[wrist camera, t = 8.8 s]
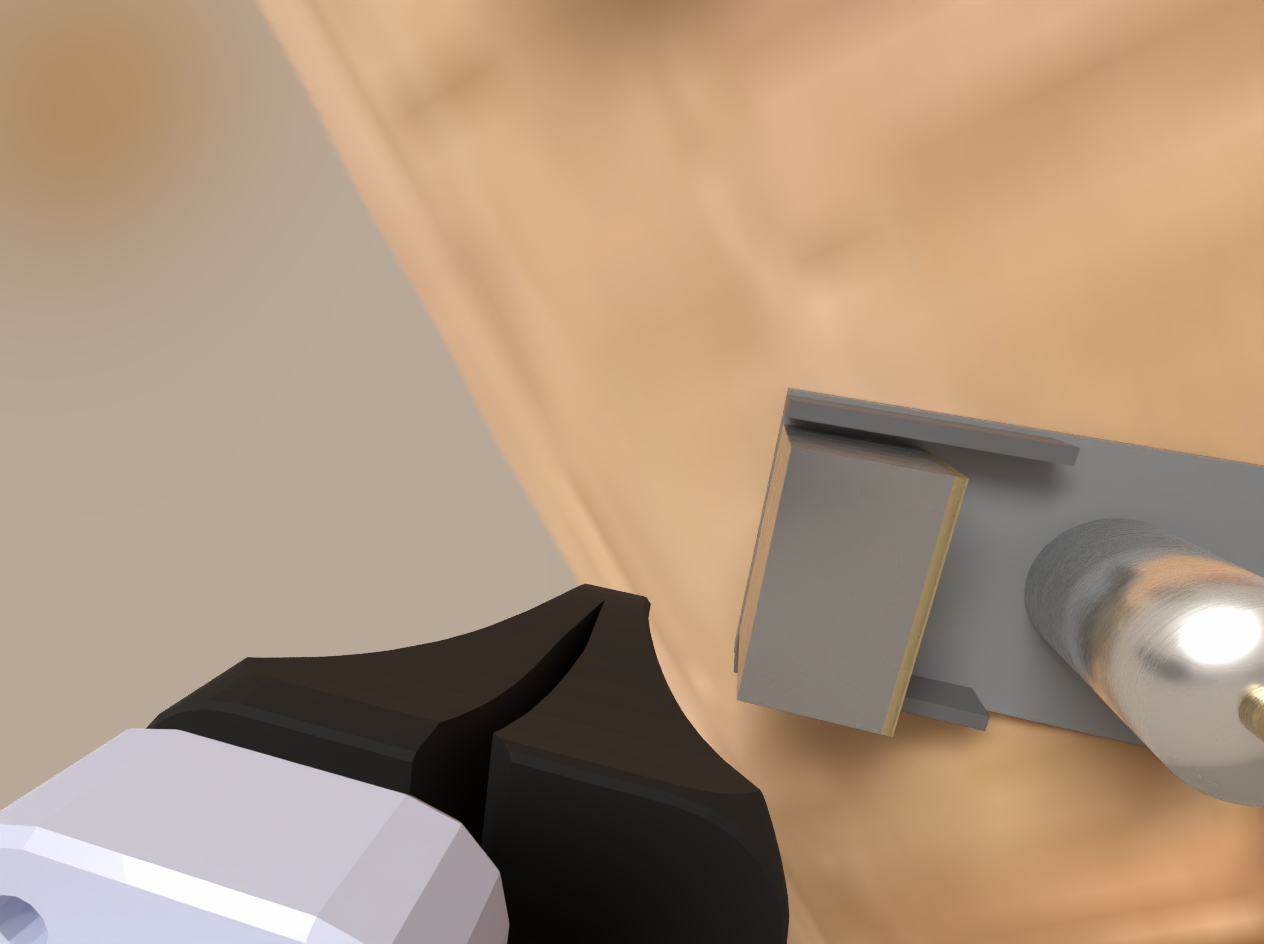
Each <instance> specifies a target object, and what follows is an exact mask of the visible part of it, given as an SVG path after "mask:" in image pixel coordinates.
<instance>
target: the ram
mask: <svg viewBox="0 0 1264 944" xmlns="http://www.w3.org/2000/svg"><path fill="white" fill-rule="evenodd" d="M968 480H969V479H968V478H967V477H965V476H964V475H963V474H961V473H960V472H958V471H957V470H955V469H954V468H952V467H951V466H949V465H948V464H946V463H945V462H943V461H942V460H940V459H939V458H937V457H936V456H934V455H933V454H932V453H930V452H929V451H927V450H926V449H924V448H923V447H917V446H911V445H906V444H900V443H894V442H888V441H882V440H876V439H871V438H865V437H859V436H853V435H847V434H842V433H836V432H830V431H824V430H818V429H813V428H807V427H801V426H795V425H789V424H784V423H783V427H782V432H781V436H780V441H779V446H778V451H777V455H776V460H775V465H774V470H773V474H772V479H771V484H770V489H769V493H768V498H767V503H766V508H765V512H764V517H763V522H762V527H761V531H760V536H759V541H758V545H757V550H756V555H755V560H754V564H753V569H752V574H751V579H750V583H749V588H748V593H747V598H746V602H745V607H744V612H743V617H742V621H741V626H740V633H739V658H738V683H737V700H740V701H744V702H748V703H752V704H756V705H761V706H765V707H769V708H773V709H777V710H781V711H785V712H790V713H794V714H798V715H802V716H806V717H810V718H815V719H819V720H823V721H827V722H831V723H835V724H840V725H844V726H848V727H852V728H856V729H860V730H864V731H869V732H873V733H877V734H881V735H885V736H889V737H893V735H894V732H895V728H896V725H897V722H898V718H899V715H900V711H901V708H902V705H903V701H904V698H905V694H906V691H907V688H908V684H909V681H910V677H911V674H912V671H913V667H914V664H915V660H916V657H917V654H918V650H919V647H920V643H921V640H922V637H923V633H924V630H925V626H926V623H927V620H928V616H929V613H930V609H931V606H932V603H933V599H934V596H935V592H936V589H937V586H938V582H939V579H940V575H941V572H942V569H943V565H944V562H945V558H946V555H947V552H948V548H949V545H950V541H951V538H952V535H953V531H954V528H955V524H956V521H957V518H958V514H959V511H960V507H961V504H962V501H963V497H964V494H965V490H966V487H967V484H968Z"/></svg>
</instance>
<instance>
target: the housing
mask: <svg viewBox="0 0 1264 944" xmlns="http://www.w3.org/2000/svg"><path fill="white" fill-rule="evenodd" d="M1024 599H1025V606H1026V610H1027V614H1028V616H1029V618H1030V620H1031V622H1032V624H1033V625H1034V627H1035V629H1036V630H1037V631H1038V632H1039V633H1040V635H1041V636H1042V637H1043V638H1044V639H1045V640H1046V641H1047V642H1048V643H1049V644H1050V645H1051V646H1052V647H1053V648H1054V649H1055V650H1056V651H1057V653H1058V654H1059V655H1060V656H1061V657H1062V658H1063V659H1064V660H1065V661H1066V662H1067V663H1068V664H1069V665H1070V666H1071V667H1072V668H1073V669H1074V670H1075V671H1076V672H1077V673H1078V675H1079V676H1080V677H1081V678H1082V679H1083V680H1084V681H1085V682H1086V683H1087V684H1088V685H1089V686H1090V687H1091V688H1092V689H1093V690H1094V691H1095V692H1096V693H1097V694H1098V695H1099V697H1100V698H1101V699H1102V700H1103V701H1104V702H1105V703H1106V704H1107V705H1108V706H1109V707H1110V708H1111V709H1112V710H1113V711H1114V712H1115V713H1116V714H1117V715H1118V716H1119V718H1120V719H1121V720H1122V721H1123V722H1124V723H1125V724H1126V725H1127V726H1128V727H1129V728H1130V729H1131V730H1132V731H1133V732H1134V733H1135V734H1136V735H1137V736H1138V737H1139V738H1140V740H1141V741H1142V742H1143V743H1144V744H1145V745H1146V746H1147V747H1148V748H1149V749H1150V750H1151V751H1152V752H1153V753H1154V754H1155V755H1156V756H1157V757H1158V758H1159V759H1160V760H1161V762H1162V763H1163V764H1164V765H1165V766H1166V767H1167V768H1168V769H1169V770H1170V771H1171V772H1172V773H1174V774H1175V775H1176V776H1177V777H1178V778H1179V779H1180V780H1182V781H1183V782H1185V783H1186V784H1188V785H1189V786H1191V787H1192V788H1194V789H1196V790H1198V791H1200V792H1202V793H1204V794H1206V795H1209V796H1212V797H1214V798H1217V799H1220V800H1224V801H1227V802H1231V803H1235V804H1242V805H1248V806H1261V807H1264V578H1263V577H1261V576H1259V575H1257V574H1254V573H1252V572H1250V571H1248V570H1246V569H1244V568H1242V567H1240V566H1238V565H1236V564H1234V563H1232V562H1230V561H1227V560H1225V559H1223V558H1221V557H1219V556H1217V555H1215V554H1213V553H1211V552H1209V551H1207V550H1205V549H1202V548H1200V547H1198V546H1196V545H1194V544H1192V543H1190V542H1188V541H1186V540H1184V539H1182V538H1180V537H1177V536H1175V535H1173V534H1171V533H1169V532H1167V531H1165V530H1163V529H1161V528H1159V527H1157V526H1155V525H1152V524H1149V523H1146V522H1143V521H1139V520H1134V519H1126V518H1107V519H1099V520H1094V521H1090V522H1086V523H1083V524H1080V525H1078V526H1075V527H1073V528H1071V529H1069V530H1067V531H1065V532H1063V533H1062V534H1060V535H1059V536H1057V537H1056V538H1054V539H1053V540H1052V541H1051V542H1050V543H1048V544H1047V545H1046V546H1045V547H1044V548H1043V550H1042V551H1041V552H1040V553H1039V554H1038V556H1037V557H1036V558H1035V560H1034V562H1033V563H1032V565H1031V567H1030V569H1029V572H1028V575H1027V577H1026V582H1025V588H1024Z"/></svg>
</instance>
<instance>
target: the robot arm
mask: <svg viewBox="0 0 1264 944" xmlns="http://www.w3.org/2000/svg"><path fill="white" fill-rule="evenodd" d="M650 605H651V604H650V602H649V601H648V599H647V598H646V597H644V596H639V595H635V594H630V593H626V592H621V591H617V590H612V589H607V588H603V587H598V586H594V585H589V584H583V585H580V586H578V587H576V588H574V589H572V590H570V591H568V592H566V593H564V594H562V595H560V596H558V597H556V598H554V599H551V600H549V601H547V602H545V603H543V604H541V605H539V606H537V607H535V608H533V609H530V610H528V611H526V612H523V613H521V614H519V615H516V616H514V617H511V618H509V619H506V620H504V621H502V622H499V623H496V624H494V625H492V626H489V627H486V628H483V629H480V630H477V631H474V632H471V633H467V634H464V635H460V636H456V637H453V638H449V639H445V640H441V641H437V642H432V643H427V644H422V645H416V646H411V647H406V648H400V649H395V650H389V651H382V652H373V653H365V654H355V655H343V656H328V657H289V658H252V657H251V658H250V657H247V658H245V659H244V660H242V661H241V662H239V663H237V664H236V665H234V666H233V667H231V668H230V669H228V670H227V671H225V672H224V673H222V674H221V675H219V676H218V677H216V678H214V679H213V680H211V681H210V682H208V683H207V684H205V685H204V686H202V687H200V688H199V689H197V690H196V691H194V692H193V693H191V694H190V695H188V696H187V697H185V698H184V699H182V700H181V701H179V702H177V703H176V704H175V705H173V706H171V707H170V708H168V709H167V710H165V711H163V712H162V713H160V714H159V715H158V716H157V717H156V718H155V719H154V720H153V721H152V723H151V724H150V725H149V726H148V727H147V728H146V729H128V730H126V731H124V732H123V733H121V734H120V735H118V736H117V737H115V738H114V739H112V740H110V741H109V742H107V743H106V744H104V745H102V746H101V747H99V748H98V749H97V750H95V751H93V752H92V753H90V754H88V755H87V756H85V757H84V758H82V759H81V760H79V761H77V762H76V763H74V764H73V765H71V766H70V767H68V768H67V769H65V770H63V771H62V772H60V773H59V774H57V775H55V776H54V777H52V778H51V779H49V780H48V781H46V782H44V783H43V784H41V785H40V786H38V787H37V788H35V789H34V790H32V791H30V792H29V793H27V794H26V795H24V796H23V797H21V798H19V799H18V800H16V801H15V802H13V803H12V804H10V805H8V806H7V807H5V808H4V809H3V810H1V811H0V944H787V935H788V925H789V906H788V894H787V888H786V882H785V876H784V871H783V866H782V861H781V856H780V852H779V848H778V844H777V840H776V836H775V832H774V828H773V825H772V821H771V818H770V815H769V811H768V808H767V805H766V802H765V799H764V796H763V794H762V792H761V791H760V789H758V788H757V787H756V786H755V785H753V784H752V783H751V782H750V781H749V780H747V779H746V778H745V777H744V776H742V775H741V774H740V773H739V772H738V771H736V770H735V769H734V768H733V767H732V766H730V765H729V764H728V763H727V762H725V761H724V760H723V759H722V758H721V757H720V756H719V755H718V754H717V753H716V752H715V751H714V750H713V749H712V748H711V746H710V745H709V744H708V743H707V742H706V741H705V740H704V739H703V738H702V737H701V736H700V734H699V733H698V732H697V731H696V729H695V728H694V727H693V725H692V724H691V723H690V721H689V720H688V719H687V717H686V716H685V715H684V713H683V711H682V710H681V708H680V707H679V705H678V703H677V702H676V700H675V698H674V696H673V694H672V692H671V690H670V688H669V686H668V684H667V682H666V680H665V677H664V675H663V673H662V670H661V667H660V665H659V662H658V659H657V656H656V653H655V649H654V645H653V641H652V637H651V633H650V628H649V619H648V617H649V611H650Z"/></svg>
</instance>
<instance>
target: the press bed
mask: <svg viewBox="0 0 1264 944" xmlns="http://www.w3.org/2000/svg"><path fill="white" fill-rule="evenodd" d="M783 423H784V424H789V425H795V426H801V427H807V428H813V429H818V430H824V431H830V432H836V433H842V434H847V435H853V436H859V437H865V438H871V439H876V440H882V441H888V442H894V443H900V444H906V445H911V446H917V447H923V448H924V449H926V450H927V451H929V452H930V453H932V454H933V455H934V456H936V457H937V458H939V459H940V460H942V461H943V462H945V463H946V464H948V465H949V466H951V467H952V468H954V469H955V470H957V471H958V472H960V473H961V474H963V475H964V476H965V477H967V478H968V479H969V480H968V484H967V487H966V490H965V494H964V497H963V501H962V504H961V507H960V511H959V514H958V518H957V521H956V524H955V528H954V531H953V535H952V538H951V541H950V545H949V548H948V552H947V555H946V558H945V562H944V565H943V569H942V572H941V575H940V579H939V582H938V586H937V589H936V592H935V596H934V599H933V603H932V606H931V609H930V613H929V616H928V620H927V623H926V626H925V630H924V633H923V637H922V640H921V643H920V647H919V650H918V654H917V657H916V660H915V664H914V667H913V671H912V674H911V677H910V681H909V684H908V688H907V691H906V694H905V698H904V701H903V705H902V708H901V711H902V712H906V713H911V714H915V715H919V716H923V717H928V718H932V719H936V720H940V721H945V722H949V723H953V724H958V725H962V726H966V727H970V728H975V729H979V730H983V731H985V729H986V726H987V723H988V720H989V717H990V716H989V714H988V713H987V711H991V712H996V713H1000V714H1004V715H1009V716H1013V717H1018V718H1022V719H1026V720H1031V721H1035V722H1039V723H1044V724H1048V725H1052V726H1057V727H1061V728H1066V729H1070V730H1074V731H1079V732H1083V733H1087V734H1092V735H1096V736H1100V737H1105V738H1109V739H1114V740H1118V741H1122V742H1127V743H1131V744H1135V745H1140V746H1144V747H1147V746H1146V745H1145V744H1144V743H1143V742H1142V741H1141V740H1140V738H1139V737H1138V736H1137V735H1136V734H1135V733H1134V732H1133V731H1132V730H1131V729H1130V728H1129V727H1128V726H1127V725H1126V724H1125V723H1124V722H1123V721H1122V720H1121V719H1120V718H1119V716H1118V715H1117V714H1116V713H1115V712H1114V711H1113V710H1112V709H1111V708H1110V707H1109V706H1108V705H1107V704H1106V703H1105V702H1104V701H1103V700H1102V699H1101V698H1100V697H1099V695H1098V694H1097V693H1096V692H1095V691H1094V690H1093V689H1092V688H1091V687H1090V686H1089V685H1088V684H1087V683H1086V682H1085V681H1084V680H1083V679H1082V678H1081V677H1080V676H1079V675H1078V673H1077V672H1076V671H1075V670H1074V669H1073V668H1072V667H1071V666H1070V665H1069V664H1068V663H1067V662H1066V661H1065V660H1064V659H1063V658H1062V657H1061V656H1060V655H1059V654H1058V653H1057V651H1056V650H1055V649H1054V648H1053V647H1052V646H1051V645H1050V644H1049V643H1048V642H1047V641H1046V640H1045V639H1044V638H1043V637H1042V636H1041V635H1040V633H1039V632H1038V631H1037V630H1036V629H1035V627H1034V625H1033V624H1032V622H1031V620H1030V618H1029V616H1028V614H1027V610H1026V606H1025V599H1024V588H1025V582H1026V577H1027V575H1028V572H1029V569H1030V567H1031V565H1032V563H1033V562H1034V560H1035V558H1036V557H1037V556H1038V554H1039V553H1040V552H1041V551H1042V550H1043V548H1044V547H1045V546H1046V545H1047V544H1048V543H1050V542H1051V541H1052V540H1053V539H1054V538H1056V537H1057V536H1059V535H1060V534H1062V533H1063V532H1065V531H1067V530H1069V529H1071V528H1073V527H1075V526H1078V525H1080V524H1083V523H1086V522H1090V521H1094V520H1099V519H1107V518H1126V519H1134V520H1139V521H1143V522H1146V523H1149V524H1152V525H1155V526H1157V527H1159V528H1161V529H1163V530H1165V531H1167V532H1169V533H1171V534H1173V535H1175V536H1177V537H1180V538H1182V539H1184V540H1186V541H1188V542H1190V543H1192V544H1194V545H1196V546H1198V547H1200V548H1202V549H1205V550H1207V551H1209V552H1211V553H1213V554H1215V555H1217V556H1219V557H1221V558H1223V559H1225V560H1227V561H1230V562H1232V563H1234V564H1236V565H1238V566H1240V567H1242V568H1244V569H1246V570H1248V571H1250V572H1252V573H1254V574H1257V575H1259V576H1261V577H1263V578H1264V466H1262V465H1256V464H1250V463H1244V462H1238V461H1232V460H1225V459H1219V458H1213V457H1207V456H1201V455H1195V454H1189V453H1183V452H1176V451H1170V450H1164V449H1158V448H1152V447H1146V446H1140V445H1134V444H1128V443H1121V442H1115V441H1109V440H1103V439H1097V438H1091V437H1085V436H1079V435H1073V434H1066V433H1060V432H1054V431H1048V430H1042V429H1036V428H1030V427H1024V426H1017V425H1011V424H1005V423H999V422H993V421H987V420H981V419H975V418H969V417H962V416H956V415H950V414H944V413H938V412H932V411H926V410H920V409H913V408H907V407H901V406H895V405H889V404H883V403H877V402H871V401H865V400H858V399H852V398H846V397H840V396H834V395H828V394H822V393H816V392H810V391H803V390H797V389H791V388H788V392H787V397H786V402H785V407H784V411H783V416H782V421H781V426H780V430H779V435H778V440H777V445H776V450H775V454H774V459H773V464H772V469H771V473H770V478H769V483H768V488H767V492H766V497H765V502H764V507H763V511H762V516H761V521H760V526H759V531H758V535H757V540H756V545H755V550H754V554H753V559H752V564H751V569H750V573H749V578H748V583H747V588H746V593H745V597H744V602H743V607H742V612H741V616H740V621H739V626H738V631H737V635H736V640H735V648H734V653H735V659H734V672H735V673H738V658H739V633H740V626H741V621H742V617H743V612H744V607H745V602H746V598H747V593H748V588H749V583H750V579H751V574H752V569H753V564H754V560H755V555H756V550H757V545H758V541H759V536H760V531H761V527H762V522H763V517H764V512H765V508H766V503H767V498H768V493H769V489H770V484H771V479H772V474H773V470H774V465H775V460H776V455H777V451H778V446H779V441H780V436H781V432H782V427H783ZM986 710H987V711H986Z"/></svg>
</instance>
